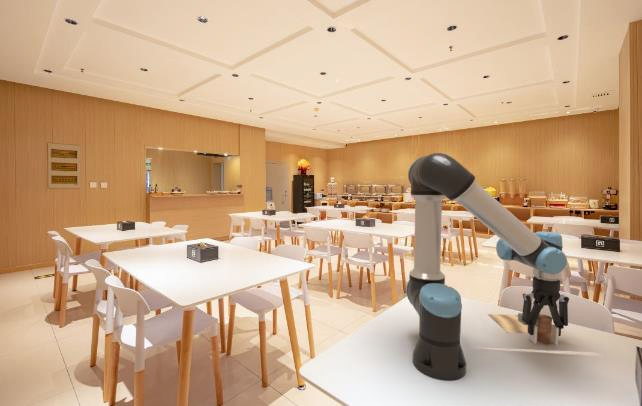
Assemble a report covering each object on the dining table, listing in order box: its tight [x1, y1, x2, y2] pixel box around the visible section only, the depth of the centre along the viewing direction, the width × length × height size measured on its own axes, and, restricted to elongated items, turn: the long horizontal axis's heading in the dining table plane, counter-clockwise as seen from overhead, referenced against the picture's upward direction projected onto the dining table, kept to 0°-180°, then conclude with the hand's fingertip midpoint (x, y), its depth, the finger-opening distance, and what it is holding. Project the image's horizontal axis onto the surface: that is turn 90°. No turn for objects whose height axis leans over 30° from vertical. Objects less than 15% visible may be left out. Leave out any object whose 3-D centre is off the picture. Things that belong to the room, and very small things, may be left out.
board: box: [487, 313, 537, 334], centre depth 118 cm, size 18×16×1 cm
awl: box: [537, 313, 553, 346], centre depth 104 cm, size 4×4×10 cm
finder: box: [517, 312, 537, 325], centre depth 118 cm, size 6×4×3 cm, turn 85°
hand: (543, 344), depth 104 cm, fingers open, 6 cm apart
